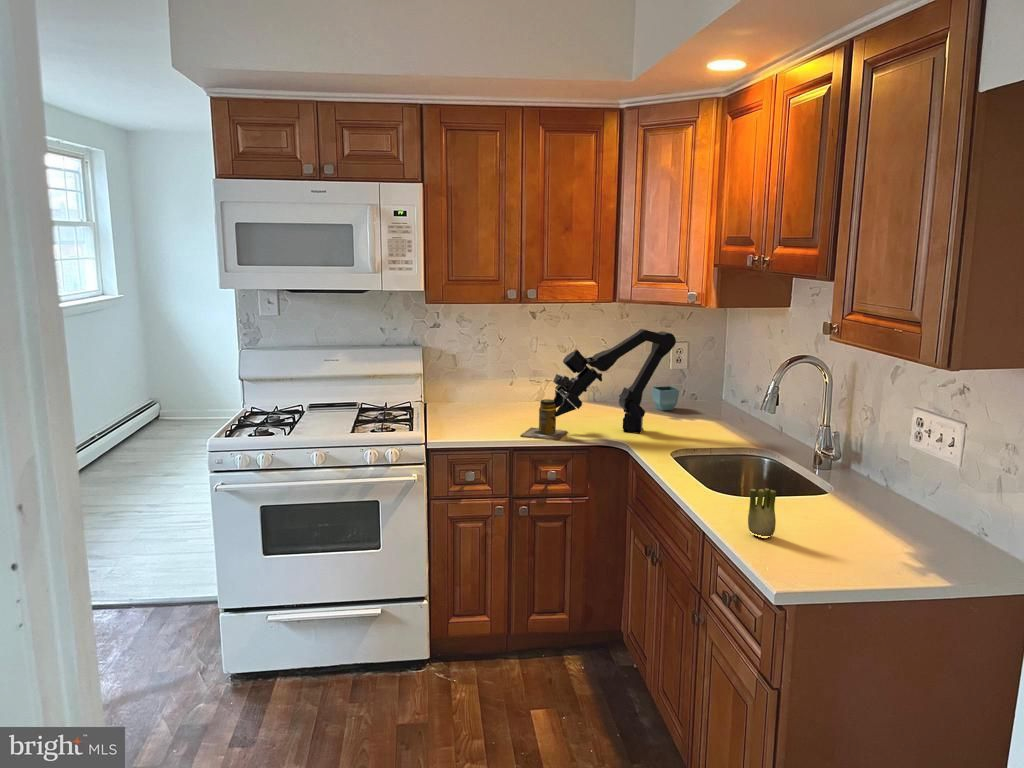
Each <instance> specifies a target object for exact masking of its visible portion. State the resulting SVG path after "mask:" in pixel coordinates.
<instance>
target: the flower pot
mask: <svg viewBox="0 0 1024 768" xmlns="http://www.w3.org/2000/svg"><path fill="white" fill-rule="evenodd" d="M651 393H652V400H653V403H654V405H655V407H656V409H658V410H660V411H662V410H663V411H673V410H674V409H675V407H677V404H678V401H679V396H680V389H678V388H676V387H674V386H672V385H671V386H669V385H665V386H652V387H651Z"/></svg>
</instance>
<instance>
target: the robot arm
mask: <svg viewBox="0 0 1024 768" xmlns="http://www.w3.org/2000/svg"><path fill="white" fill-rule="evenodd" d="M644 342H650V343H652V344H651V350H650V353H649V354H648V356H647V358H646V360H645V362H644V363H643V366H642V367H641V368H640V370H639V372H638V374H637V376H636V377H635V380H634V381H633V383H632V384H631V385H630V386H629V387H628V388H627V387H624V388H623V390H622V392H621V393H620V395H618V397H619V399H618V404H619V407H620V408H621V409H622V410H623V412H624V417H623V418H622V432H623V431H628V432H627V433H632V432H638V433H637V434H641V433H642V432H643V431H644V428H643V427H644V425H643V423H644V422H643V421H644V420H643V419H644V417H645V415H646V410H645V409H644V408H643V407H642V406H641V404H642V403H641V402H642V399H643V393H644V390H645V388H646V387H647V386H648V383H649V382H650V380H651V378H652V377H653V375H654V373H655V372H656V370H657V367H658V366H659V364H660V363H661V361H662V359H663V358H664V357H665V356H666V355H667V354H669V353H670V351H672V349H673V348H674V347H675V345H676V343H677V340H676V336H675V335H674V334H673V333H670V332H667V331H665V330H664V331H663V330H661V331H658V332H657V331H651V330H647V329H644V328H641V329H639V330H637V331H636V332H635V333H633V334H632V335H630V336H628V337H627V338H626V339H624V340H622V341H621V342H619V343H617V344H616V345H615V346H613V347H610V348H608V349H606V350H602V351H600V352H598V353H595V354H594V355H592V356H589V357H585V356H583V355H582V353H581V352H580V351H579V350H578V349H577V348H576V349H574V350H573V351H572V352H570V353H568V354H567V355H566V356H564V358H563V360H562V363H563V364H564V365H565V366H566V368H568V369H569V370H570V371H571V372H572V373H573V374H576V373H577V375H576V376H575V377H569V376H567V375H563V376H562V375H561V374H558V373H556V374H555V376H554V379H553V380H552V382H553V383H554V384H556V386H555V387H554V395H555V396H554V398H553V400H554V401H555V408H556V413H555V414H554V415H555V416H556V418H557V417H559V416H561V415H564V414H567V413H570V412H572V411H576V410H579V409H581V407H582V406H583V401H582V400H581V399H580V396H581V395H582V394H583V393H584V392H585V393H586V392H587V391H588V388H589V387H590V386H591V384H593V382H594V381H596V379H597V380H598V382H599V381H600V382H603V373H601V372H607V371H608V370H609V369H611V367H614V365H615V363H616V362H617V361H618V360H619V359H620V358H621V357H623V356H625V355H626V354H628V353H629V352H631V351H632V350H634V349H635V348H637V347H639V346H640V345H641V344H643V343H644ZM591 367H592V368H591ZM595 369H596V370H595ZM597 371H600V372H597ZM642 430H643V431H642ZM641 431H642V432H641ZM640 432H641V433H640Z"/></svg>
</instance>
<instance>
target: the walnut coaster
mask: <svg viewBox="0 0 1024 768" xmlns="http://www.w3.org/2000/svg"><path fill="white" fill-rule="evenodd" d="M531 431H539V427H530V428H528V429H527V430H526V431H524V432H522V433H521V434H519V435H520V436H519V437H520V438H529V439H530V438H531V439H532V438H533V439H540V440H552V441H559V440H561V439H562V438H563V436H565V435H566V434H568V430H562V429H556V431H555V432H558V433H560V434H555V435H548V436H538V435H535V434H533V433H531Z"/></svg>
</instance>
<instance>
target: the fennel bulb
mask: <svg viewBox="0 0 1024 768" xmlns="http://www.w3.org/2000/svg"><path fill="white" fill-rule="evenodd" d="M756 491H757V490H756V489H755V488H751V489H750V491H749V496H750V497H749V506H748V507H749V508H748V514H747V515H748V516H747V526H748V530H749V532H750V531H751V532H752V533H754V534H757V535H761V536H771V535H772V536H773V535H774V533H775V531H776V526H777V525H776V523H777V522H776V520H777V519H776V511H775V507H776V506H775V504H776V496H777V491H776V490H773V489H769V488H768V487H767V488H765V489H761V488H760V489H758V492H757V493H756ZM756 496H757V497H756ZM772 536H771V537H772Z"/></svg>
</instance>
